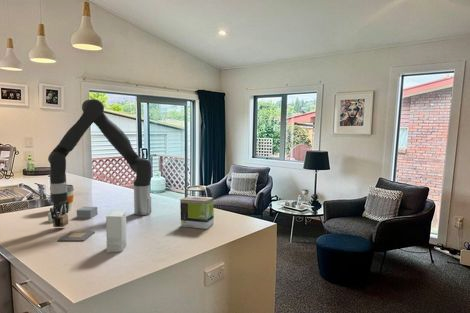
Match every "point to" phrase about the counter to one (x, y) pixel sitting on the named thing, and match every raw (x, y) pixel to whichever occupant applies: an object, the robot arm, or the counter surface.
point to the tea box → (197, 212)
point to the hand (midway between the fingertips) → (60, 224)
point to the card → (77, 236)
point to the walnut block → (62, 220)
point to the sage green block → (50, 217)
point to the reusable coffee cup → (70, 196)
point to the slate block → (87, 212)
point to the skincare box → (116, 231)
